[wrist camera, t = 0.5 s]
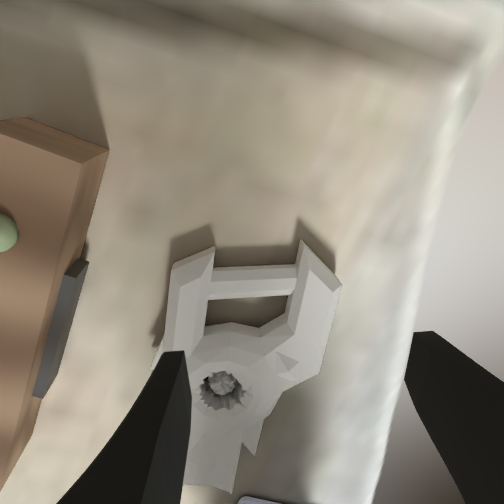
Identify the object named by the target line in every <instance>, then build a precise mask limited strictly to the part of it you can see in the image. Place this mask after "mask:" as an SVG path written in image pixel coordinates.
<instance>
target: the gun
mask: <svg viewBox="0 0 504 504" xmlns="http://www.w3.org/2000/svg"><path fill="white" fill-rule="evenodd" d="M215 247H216V245H215V246H213V247H210V248H208V249H206V250H203V251H201V252H199V253H196V254H194V255H191V256H189V257H187V258H184V259H182V260H180V261H177V262H175V263H174V264H173V266H172V269H171V276H170V285H169V295H168V304H167V314H166V323H165V333H164V335H163V338H162V340H161V342H160V345H159V347H158V349H157V351H156V354H155V356H154V358H153V361H152V362H153V363H152V365H151V368H150V370H154V368H155V367H156V365H157V363H158V361H159V359H160V357H161V355H162V354H163V353H164V352H168V351H181V350H184V352H185V358H186V364H187V370H188V376H189V382H190V388H191V394H192V411H191V431H190V438H189V445H188V452H187V459H186V466H185V473H184V479H183V484H187V485H201V486H213V487H216V488H218V489H221V490H224V491H227V492H229V493H230V494H231V495H232V491H233V486H234V481H235V476H236V471H237V466H238V461H239V456H240V451H241V446H242V443H243V444H244V445H245V446H246V447H247V448H248V450H249V451H250V452H251V453H252V454H253V455H254V456H255V453H256V449H257V445H258V441H259V438H260V434H261V430H262V426H263V422H264V418H266V417H267V416H269V415H270V413H271V412H272V410H273V408H274V406H275V405H276V403H277V401H278V399H279V398H280V396H281V394H282V392H284V391H286V390H288V389H289V388H291V387H293V386H295V385H297V384H299V383H301V382H303V381H305V380H307V379H309V378H311V377H313V376H314V375H316V374H318V373H319V371H320V367H321V364H322V360H323V356H324V352H325V348H326V345H327V341H328V337H329V333H330V329H331V326H332V322H333V318H334V314H335V310H336V307H337V303H338V299H339V295H340V291H341V288H342V284H341V282H340V281H339V279H338V278H337V277H336V275H335V274H334V273H333V272H332V271H331V270H330V269H329V268H328V267H327V266H326V265H325V264H324V263H323V262H322V261H321V260H320V259H319V258H318V257H317V255H316V254H315V253H314V252H313V251H312V250H311V249H310V248H309V247H308V246H307V245H306V244H305V243H304V242H303V241H302V240H301V239H300V243H299V248H298V253H297V257H296V262H295V264H288V265H264V266H241V267H217V268H213V263H214V256H215ZM280 295H288V299H287V304H286V308H285V313H284V314H282V315H280V316H279V317H277V318H275V319H273V320H272V321H270V322H268V323H267V324H265V325H263V326H261V327H260V328H257V327H252V326H247V325H242V324H238V323H233V322H229V323H223V324H217V325H210V326H205V319H206V312H207V305H208V300H216V299H232V298H248V297H264V296H280ZM150 370H149V371H150ZM207 376H208V381H209V382H206V381H205V378H206V377H207Z"/></svg>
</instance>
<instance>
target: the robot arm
mask: <svg viewBox="0 0 504 504" xmlns="http://www.w3.org/2000/svg"><path fill="white" fill-rule="evenodd" d="M404 380H405V383H406V385H407V388H408V391H409V393H410V396H411V399H412V401H413V404H414V406H415V408H416V411H417V413H418V414H419V417H420V418H421V420H422V422H423V424H424V426H425V428H426V430H427V431H428V433H429V435H430V437H431V439H432V441H433V443H434V444H435V446H436V448H437V450H438V452H439V453H440V455H441V457H442V459H443V461H444V462H445V464H446V466H447V468H448V470H449V472H450V474H451V475H452V477H453V479H454V481H455V483H456V485H457V487H458V489H459V491H460V493H461V495H462V497H463V499H464V501H465V504H504V382H503V381H501V380H499V379H498V378H497V377H495V376H494V375H492V374H491V373H490V372H488V371H487V370H486V369H484V368H483V367H481V366H480V365H478V364H477V363H475V362H474V361H473V360H472V359H471V358H469V357H468V356H466V355H465V354H464V353H462V352H461V351H459V350H458V349H457V348H456V347H454V346H453V345H452V344H450V343H449V342H447V341H446V340H445V339H444V338H442V337H441V336H439V335H438V334H437V333H435V332H434V331H425V332H414V334H413V339H412V344H411V348H410V353H409V358H408V363H407V368H406V373H405V378H404ZM191 411H192V394H191V388H190V382H189V376H188V370H187V364H186V358H185V352H184V350H181V351H168V352H164V353H163V354H162V355H161V357H160V359H159V361H158V363H157V365H156V367H155V368H154V370H153V372H152V374H151V376H150V378H149V379H148V381H147V383H146V385H145V386H144V388H143V390H142V391H141V393H140V395H139V396H138V398H137V400H136V401H135V403H134V404H133V406H132V408H131V409H130V411H129V412H128V414H127V415H126V417H125V418H124V420H123V421H122V423H121V424H120V426H119V427H118V428H117V430H116V431H115V433H114V434H113V436H112V437H111V438H110V440H109V441H108V442H107V444H106V445H105V447H104V448H103V449H102V450H101V452H100V453H99V454H98V456H97V457H96V458H95V459H94V461H93V462H92V463H91V464H90V466H89V467H88V468H87V469H86V471H85V472H84V473H83V474H82V475H81V476H80V478H79V479H78V480H77V481H76V482H75V483H74V484H73V486H72V487H71V488H70V489H69V490H68V491H67V492H66V494H65V495H64V496H63V497H62V498H61V499H60V500H59V501H58V502H57V503H56V504H180V500H181V493H182V486H183V479H184V473H185V466H186V459H187V452H188V445H189V438H190V431H191ZM237 504H280V503H276V502H271V501H266V500H262V499H257V498H253V497H248V496H245V497H242V498H241V499H240V500H239V502H238V503H237Z"/></svg>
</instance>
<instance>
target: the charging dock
mask: <svg viewBox="0 0 504 504" xmlns="http://www.w3.org/2000/svg"><path fill="white" fill-rule="evenodd" d="M108 154H109V149H106V148H103V147H101V146H98V145H96V144H93V143H90V142H88V141H85V140H83V139H80V138H77V137H75V136H72V135H70V134H67V133H64V132H62V131H59V130H57V129H54V128H51V127H49V126H46V125H44V124H41V123H38V122H36V121H33V120H31V119H28V118H25V117H24V118H16V119H9V120H1V121H0V491H1V489H2V488H3V486H4V484H5V482H6V480H7V479H8V477H9V475H10V473H11V472H12V470H13V468H14V466H15V464H16V463H17V461H18V459H19V457H20V456H21V454H22V452H23V450H24V448H25V447H26V445H27V443H28V441H29V439H30V438H31V436H32V433H33V429H34V426H35V422H36V418H37V415H38V411H39V407H40V404H41V400H42V399H43V398H44V396H45V395H46V393H47V391H48V390H49V388H50V386H51V384H52V383H53V381H54V379H55V378H56V376H57V374H58V371H59V367H60V364H61V360H62V356H63V353H64V349H65V346H66V342H67V339H68V335H69V332H70V328H71V325H72V321H73V317H74V314H75V310H76V307H77V303H78V300H79V296H80V293H81V289H82V286H83V282H84V278H85V275H86V271H87V268H88V264H89V262H88V261H85V260H82V259H80V257H81V253H82V249H83V246H84V242H85V238H86V235H87V231H88V227H89V224H90V220H91V216H92V213H93V209H94V205H95V202H96V198H97V194H98V191H99V187H100V183H101V179H102V176H103V172H104V168H105V165H106V161H107V157H108Z"/></svg>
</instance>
